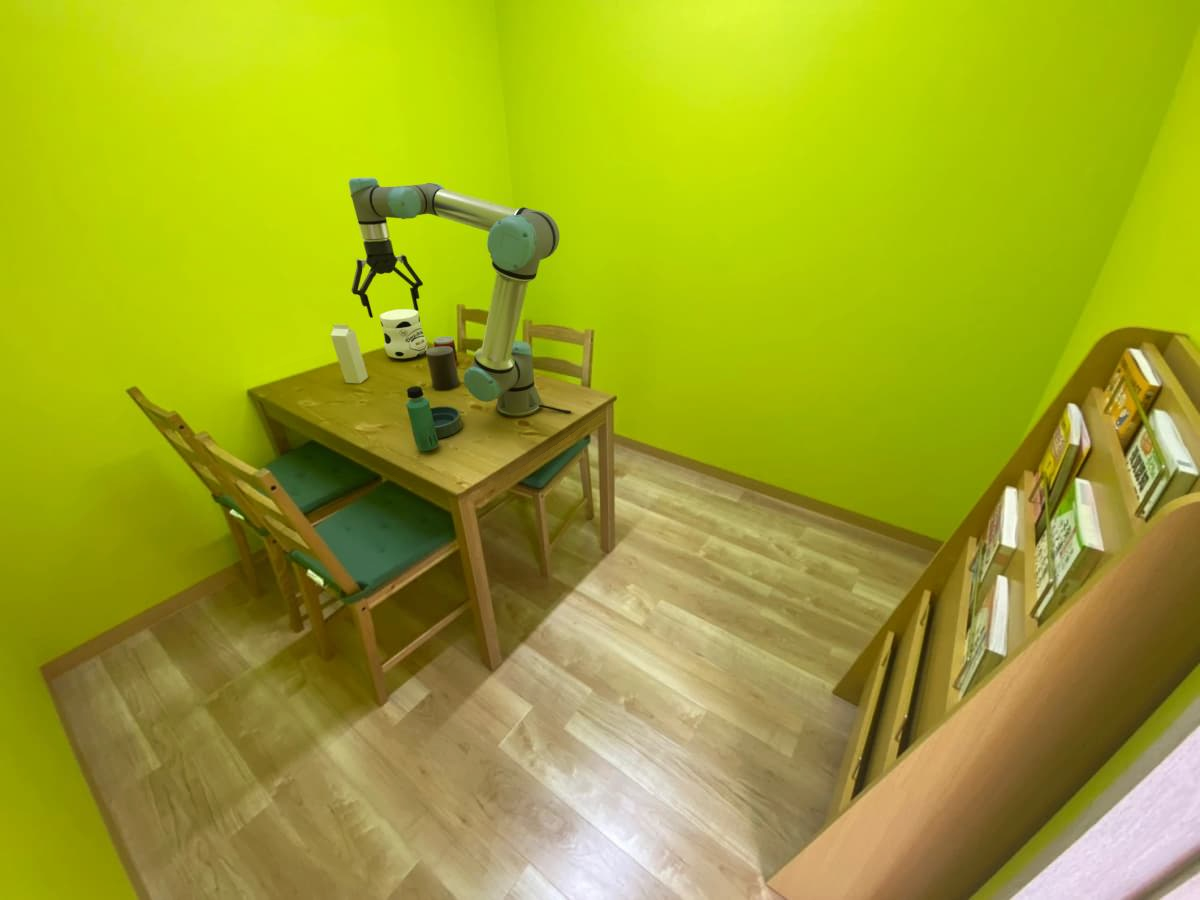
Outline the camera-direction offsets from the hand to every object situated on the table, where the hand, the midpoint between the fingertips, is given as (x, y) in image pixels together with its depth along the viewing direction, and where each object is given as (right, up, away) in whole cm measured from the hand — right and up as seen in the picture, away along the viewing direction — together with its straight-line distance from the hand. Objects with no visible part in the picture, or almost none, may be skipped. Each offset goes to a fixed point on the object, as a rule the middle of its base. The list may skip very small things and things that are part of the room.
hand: (394, 313), depth 149 cm
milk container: (-19, -2, +59) cm, 62 cm away
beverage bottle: (+13, -43, -6) cm, 45 cm away
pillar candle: (+6, -18, +33) cm, 38 cm away
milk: (-31, -16, +37) cm, 51 cm away
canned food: (+1, -8, +50) cm, 50 cm away
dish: (+13, -36, +4) cm, 38 cm away
